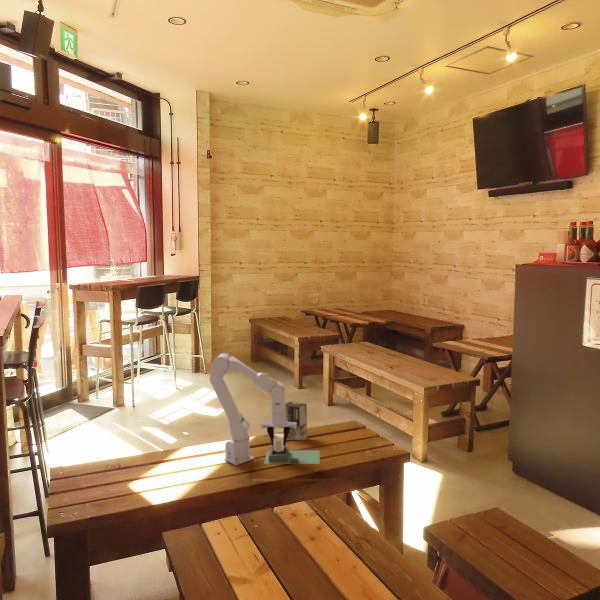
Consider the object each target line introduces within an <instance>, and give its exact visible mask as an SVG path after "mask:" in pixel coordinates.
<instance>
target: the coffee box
mask: <svg viewBox="0 0 600 600" xmlns="http://www.w3.org/2000/svg"><path fill="white" fill-rule="evenodd" d="M307 417H308V415H307V403H304V402H303V403H302V402H297V401H289V402H285V421H287V422H296V426H297V427H296V428H290V431H289V433H288V436H287V440H286V441H288V440H290V441H294V440H295V441H304V440H307V439H308V426H307V425H308V424H307V422H308V420H307V419H308V418H307Z"/></svg>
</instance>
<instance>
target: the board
mask: <svg viewBox="0 0 600 600" xmlns="http://www.w3.org/2000/svg"><path fill="white" fill-rule="evenodd" d="M269 449H270V450H269ZM269 449H268V450H267V451H266V455H265V458H264V461H263V462H264V463H263V464H264V465H320V450H316V449H315V450H307V449H306V450H300V449H299V450H290V446H289V445H287V446H286V445H285V446H284V451H281V452H276V451H274V446H270V448H269Z"/></svg>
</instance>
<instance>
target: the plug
mask: <svg viewBox="0 0 600 600" xmlns="http://www.w3.org/2000/svg"><path fill="white" fill-rule="evenodd" d="M273 444H274V451H276V452H281V451H284V433H274V438H273Z"/></svg>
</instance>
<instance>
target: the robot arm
mask: <svg viewBox="0 0 600 600" xmlns="http://www.w3.org/2000/svg"><path fill="white" fill-rule="evenodd" d="M226 372H238V373H240V374H241V375H243V376H245V377H247V378H248V379H250V380H252V381H253V383H254V385H255V386H256V387H257V388H260V389H261V390H263V391H265V392H266V393H268V394H269V395H270V397H271V400H270V409H271V410H270V412H271V413H270V414H271V419H270V420H271V421H265V422H263V421H262V422H260V429H266V432H267V434H268V436H269V438H270V441H271V445H272V446H274V444H273V438H274V435H275V429H283V434H284V446H286V443H287V440H286V439H287V436H288V433H289V431H290V428H296V427H297V426H296V422H287V421H285V404H286V401H285V399H286V396H285V393H286V386H285V383H283V382H282V381H278V380H277V379H274V378H272V377H271V376H269V375H268V373H267V372H265V373H264V372H257V371H255V370H254V369H252V368H251V367H249V366H248V365H246V364H245V363H243V362H242V361H241V360H239V359H238V358H236V357H235V356H233V355H230V354H229V353H227V352H223V353H220V354H219V355H218V356H217V357H216V358H214V360H212V363H211V365H210V374H209V382H210V384H211V386H212V388H213V390H214V392H215V395H216V396H217V398H218V401H219V402H220V405H221V406H222V408H223V410H224V412H225V415H226V417H227V418H228V426H229V429H230V436H231V439H230V440H228V441H227V442H226V443H225V458H224V460H225V461H226V462H227V463H230V464H232V465H235V466H238V465H241V464H243V463H246V462H249V461H252V460H255V457H253V456H251V454H250V453H251V451H250V450H251V449H250V435H249V434H248V431H250V423H249V421H248V420H247V419H246V418H245V417H244V415H243V414H242V413H240V411H239V408H238V407H237V405H236V403H235V400H234V398H233V397H232V394H231V392H230V389H229V388H228V386H227V384H226V382H225V380H224V377H225V374H226Z"/></svg>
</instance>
